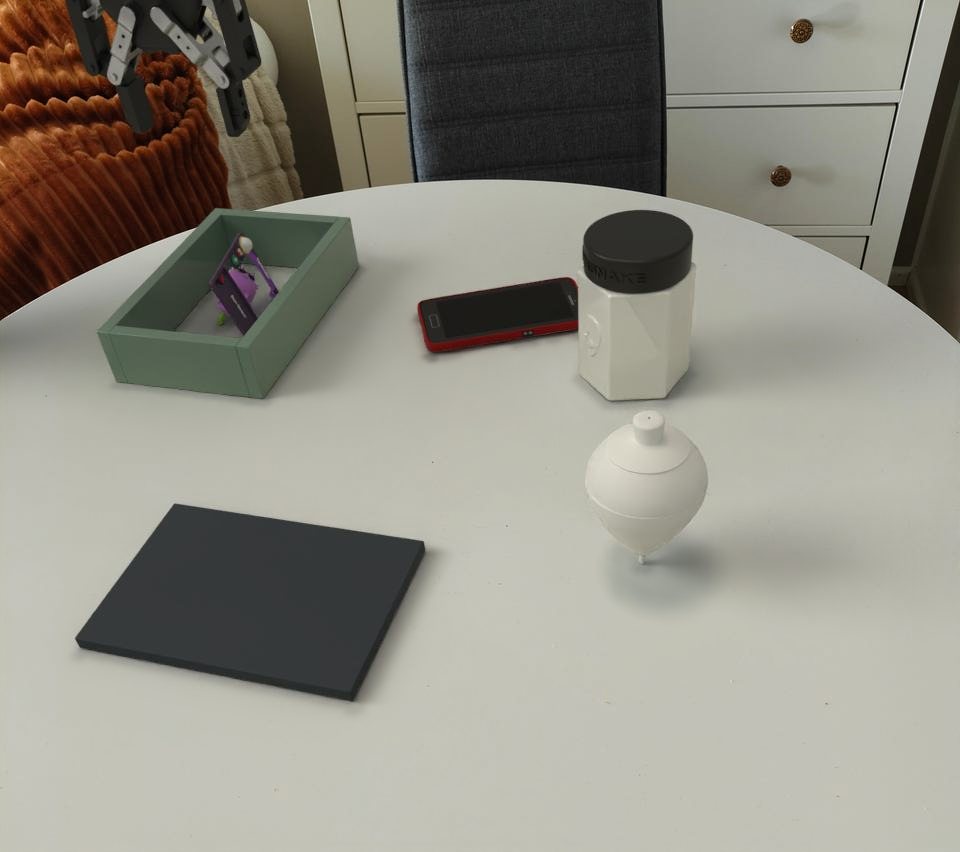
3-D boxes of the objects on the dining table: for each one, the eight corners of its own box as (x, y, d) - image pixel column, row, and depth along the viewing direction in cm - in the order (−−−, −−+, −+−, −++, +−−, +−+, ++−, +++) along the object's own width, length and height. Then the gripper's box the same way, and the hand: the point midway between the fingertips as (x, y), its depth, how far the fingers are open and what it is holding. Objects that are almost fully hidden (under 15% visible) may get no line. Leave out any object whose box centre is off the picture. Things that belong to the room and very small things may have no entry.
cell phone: (416, 310, 94) (415, 300, 93) (573, 284, 95) (573, 274, 94) (427, 355, 89) (426, 345, 88) (593, 328, 90) (593, 318, 89)
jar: (562, 363, 87) (559, 227, 78) (643, 333, 89) (649, 196, 80) (620, 416, 81) (624, 276, 72) (705, 382, 83) (719, 242, 74)
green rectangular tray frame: (116, 381, 91) (95, 331, 87) (228, 256, 104) (215, 207, 101) (262, 399, 87) (248, 347, 83) (359, 266, 101) (350, 217, 97)
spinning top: (722, 558, 70) (741, 412, 61) (649, 620, 67) (658, 475, 58) (634, 510, 74) (640, 366, 65) (562, 566, 71) (558, 423, 62)
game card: (218, 279, 88) (248, 228, 94) (170, 297, 90) (202, 246, 96) (261, 344, 92) (287, 291, 98) (214, 361, 94) (242, 308, 100)
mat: (79, 648, 69) (73, 638, 68) (178, 512, 78) (174, 502, 77) (353, 702, 64) (350, 692, 63) (426, 550, 73) (424, 540, 72)
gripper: (238, -128, 71) (289, 115, 83) (64, -123, 75) (137, 109, 87) (187, -98, 67) (250, 156, 79) (4, -94, 70) (91, 148, 82)
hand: (191, 131), depth 83 cm, fingers open, 8 cm apart
